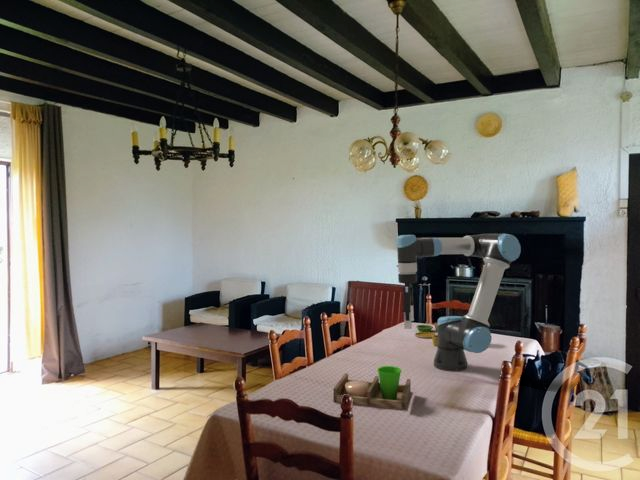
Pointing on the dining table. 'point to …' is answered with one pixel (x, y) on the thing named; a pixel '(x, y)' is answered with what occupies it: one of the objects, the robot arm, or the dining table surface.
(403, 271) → the robot arm
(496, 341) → the dining table surface
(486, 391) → the dining table surface
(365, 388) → the egg
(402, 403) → the rack
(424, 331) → the tableware set
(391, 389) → the cup
